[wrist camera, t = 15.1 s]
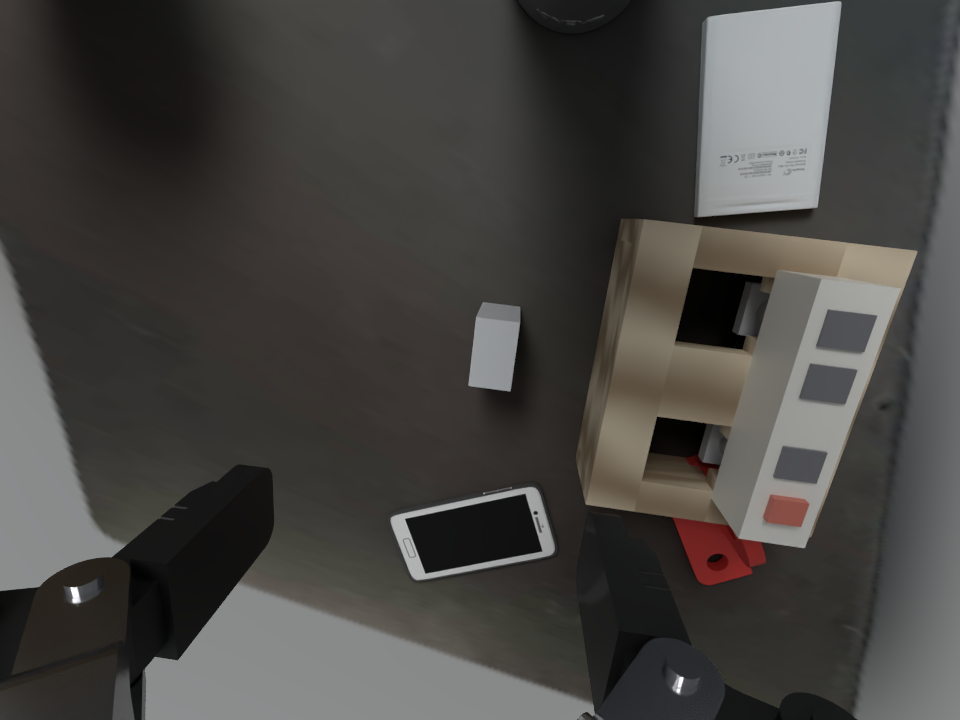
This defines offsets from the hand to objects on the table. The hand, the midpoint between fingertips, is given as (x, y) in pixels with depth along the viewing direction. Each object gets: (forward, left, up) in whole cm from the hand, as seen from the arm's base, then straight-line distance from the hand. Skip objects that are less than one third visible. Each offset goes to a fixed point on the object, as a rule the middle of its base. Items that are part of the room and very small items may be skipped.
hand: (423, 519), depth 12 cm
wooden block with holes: (+2, +17, -28) cm, 32 cm away
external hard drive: (-16, +17, -29) cm, 37 cm away
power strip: (+2, +19, -25) cm, 31 cm away
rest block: (+2, +1, -28) cm, 28 cm away
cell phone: (+21, +1, -28) cm, 35 cm away
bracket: (+16, +20, -28) cm, 38 cm away
